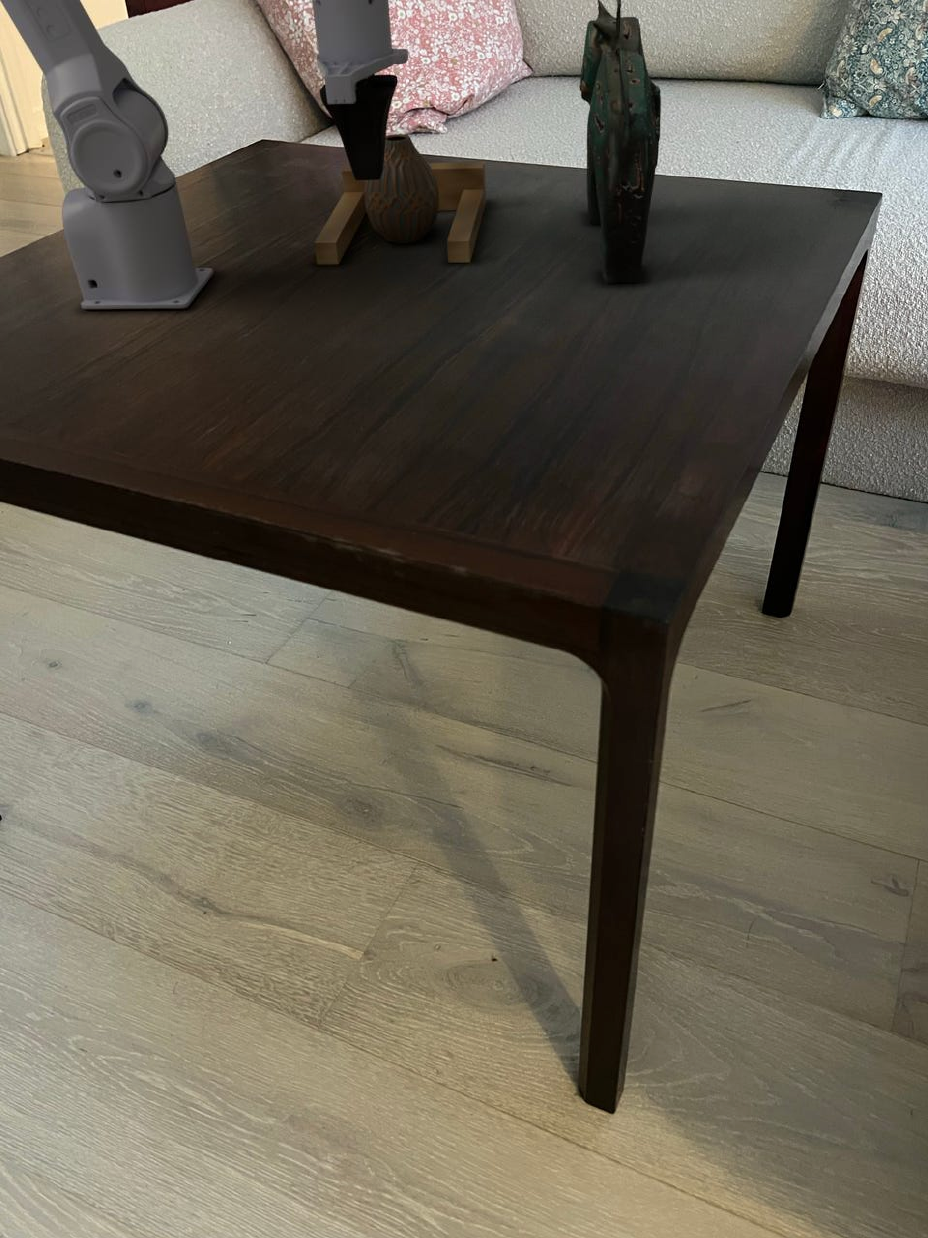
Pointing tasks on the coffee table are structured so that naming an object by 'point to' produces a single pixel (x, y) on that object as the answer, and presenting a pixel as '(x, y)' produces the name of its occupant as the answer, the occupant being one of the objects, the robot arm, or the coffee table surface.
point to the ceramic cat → (619, 140)
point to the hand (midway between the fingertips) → (368, 177)
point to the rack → (456, 192)
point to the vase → (402, 193)
